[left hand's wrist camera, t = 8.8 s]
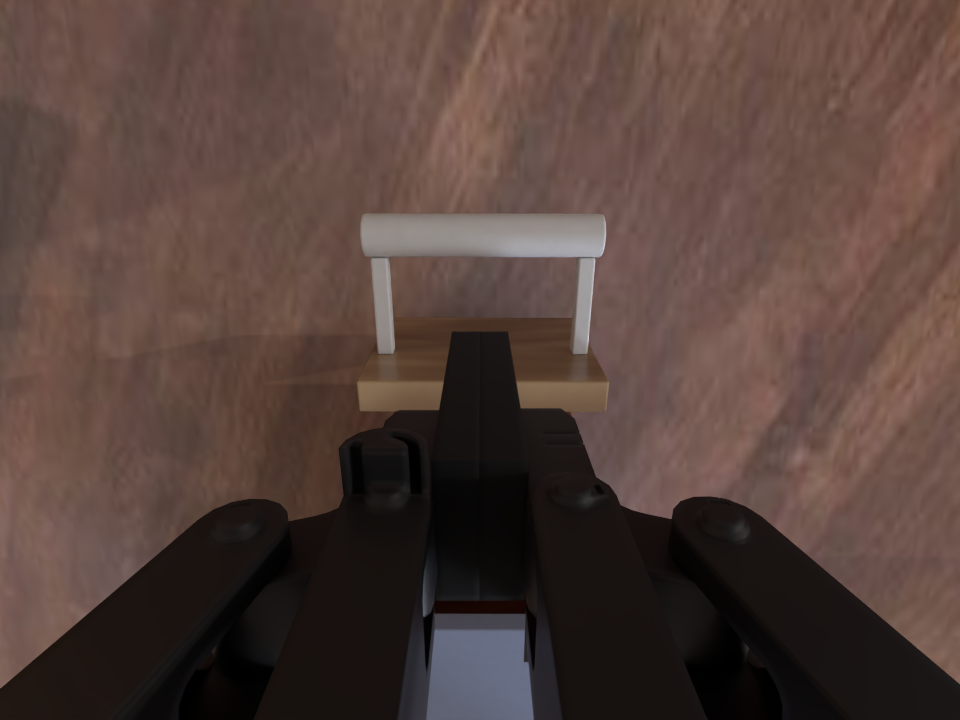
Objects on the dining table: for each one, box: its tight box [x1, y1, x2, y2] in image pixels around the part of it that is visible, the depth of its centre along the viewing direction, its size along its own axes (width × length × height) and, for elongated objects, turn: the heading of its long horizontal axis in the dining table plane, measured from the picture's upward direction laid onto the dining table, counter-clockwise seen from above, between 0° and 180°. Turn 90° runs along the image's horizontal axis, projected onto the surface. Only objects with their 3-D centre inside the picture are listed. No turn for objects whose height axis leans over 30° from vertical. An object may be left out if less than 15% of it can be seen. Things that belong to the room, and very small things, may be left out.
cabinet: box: [426, 614, 534, 720], centre depth 29 cm, size 16×10×9 cm, turn 0°
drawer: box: [357, 213, 609, 614], centre depth 23 cm, size 21×9×7 cm, turn 0°
